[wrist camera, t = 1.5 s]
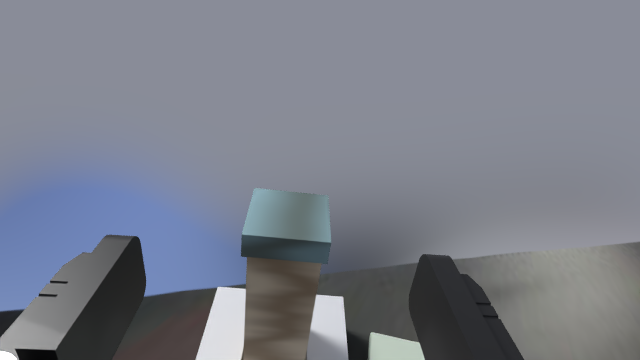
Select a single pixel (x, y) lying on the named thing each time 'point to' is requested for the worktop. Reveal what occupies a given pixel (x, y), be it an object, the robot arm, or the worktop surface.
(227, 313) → the white square stand
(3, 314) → the worktop surface
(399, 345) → the pad
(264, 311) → the plug
